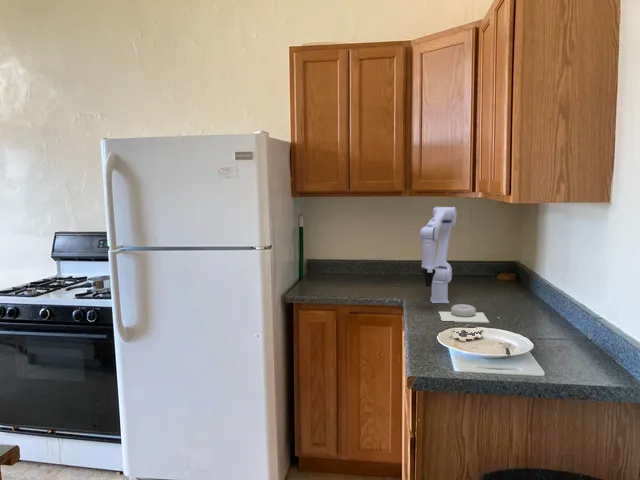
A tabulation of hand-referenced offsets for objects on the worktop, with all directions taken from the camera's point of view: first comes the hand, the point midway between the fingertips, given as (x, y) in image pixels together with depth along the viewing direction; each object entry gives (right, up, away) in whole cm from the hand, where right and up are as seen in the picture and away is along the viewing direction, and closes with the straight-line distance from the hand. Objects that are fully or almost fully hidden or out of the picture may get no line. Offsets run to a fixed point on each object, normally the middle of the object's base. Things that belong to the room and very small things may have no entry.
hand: (428, 286), depth 209 cm
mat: (+11, -12, -11) cm, 20 cm away
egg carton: (+5, -15, -37) cm, 40 cm away
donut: (+13, -9, -3) cm, 16 cm away
